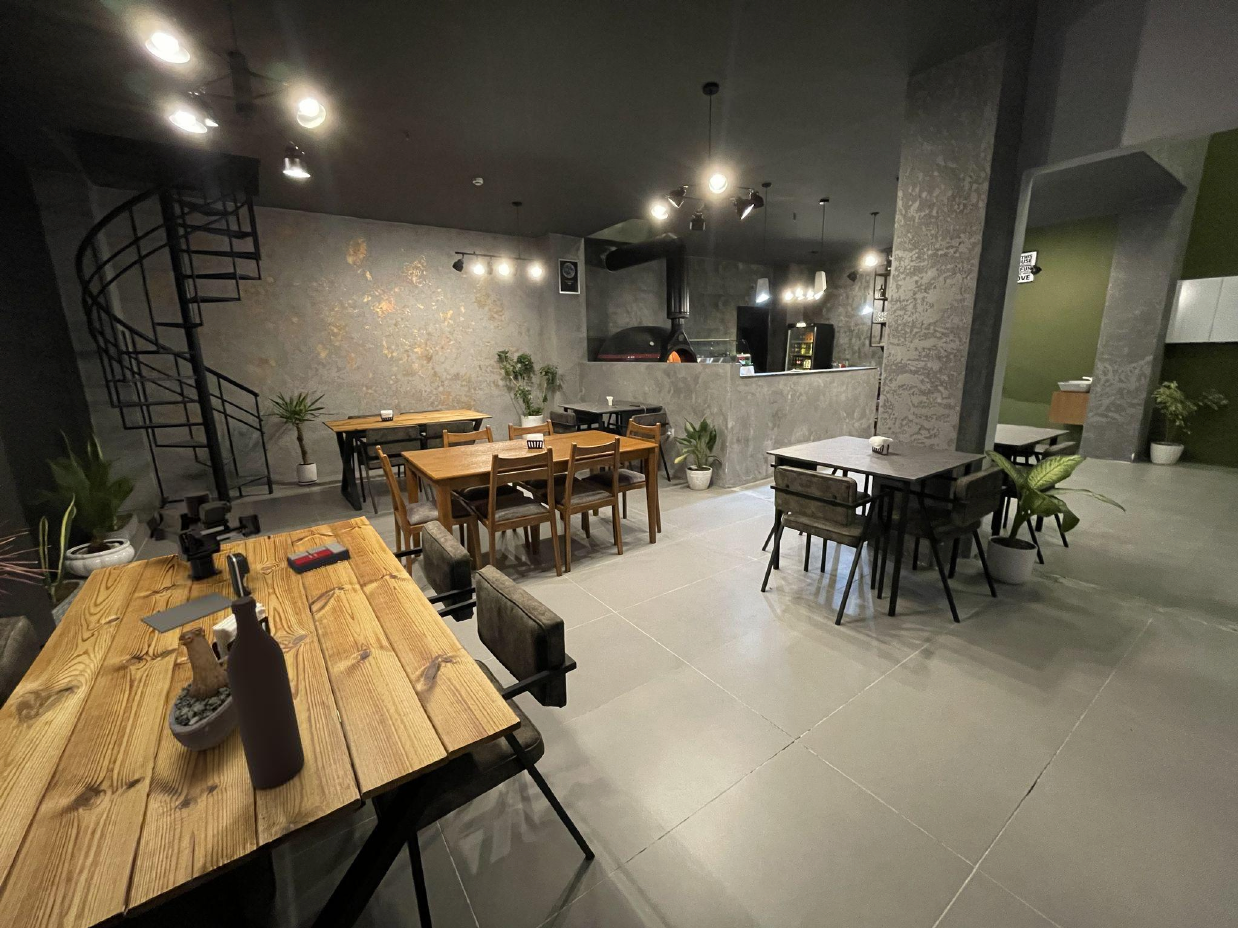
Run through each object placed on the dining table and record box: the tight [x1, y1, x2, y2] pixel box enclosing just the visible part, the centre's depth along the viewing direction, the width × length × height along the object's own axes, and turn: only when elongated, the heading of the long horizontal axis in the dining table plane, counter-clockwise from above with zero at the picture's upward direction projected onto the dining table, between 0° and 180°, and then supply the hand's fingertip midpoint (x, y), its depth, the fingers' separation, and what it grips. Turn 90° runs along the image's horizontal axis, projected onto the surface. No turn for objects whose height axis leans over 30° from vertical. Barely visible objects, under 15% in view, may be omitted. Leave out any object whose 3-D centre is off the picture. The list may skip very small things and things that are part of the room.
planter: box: [168, 626, 238, 751], centre depth 85 cm, size 15×17×20 cm
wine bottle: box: [226, 595, 305, 791], centre depth 74 cm, size 7×7×30 cm
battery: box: [225, 552, 252, 598], centre depth 137 cm, size 7×4×11 cm, turn 48°
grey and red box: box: [286, 540, 351, 575], centre depth 157 cm, size 11×4×15 cm
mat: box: [140, 591, 235, 634], centre depth 128 cm, size 13×16×1 cm
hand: (235, 537), depth 133 cm, fingers open, 9 cm apart
